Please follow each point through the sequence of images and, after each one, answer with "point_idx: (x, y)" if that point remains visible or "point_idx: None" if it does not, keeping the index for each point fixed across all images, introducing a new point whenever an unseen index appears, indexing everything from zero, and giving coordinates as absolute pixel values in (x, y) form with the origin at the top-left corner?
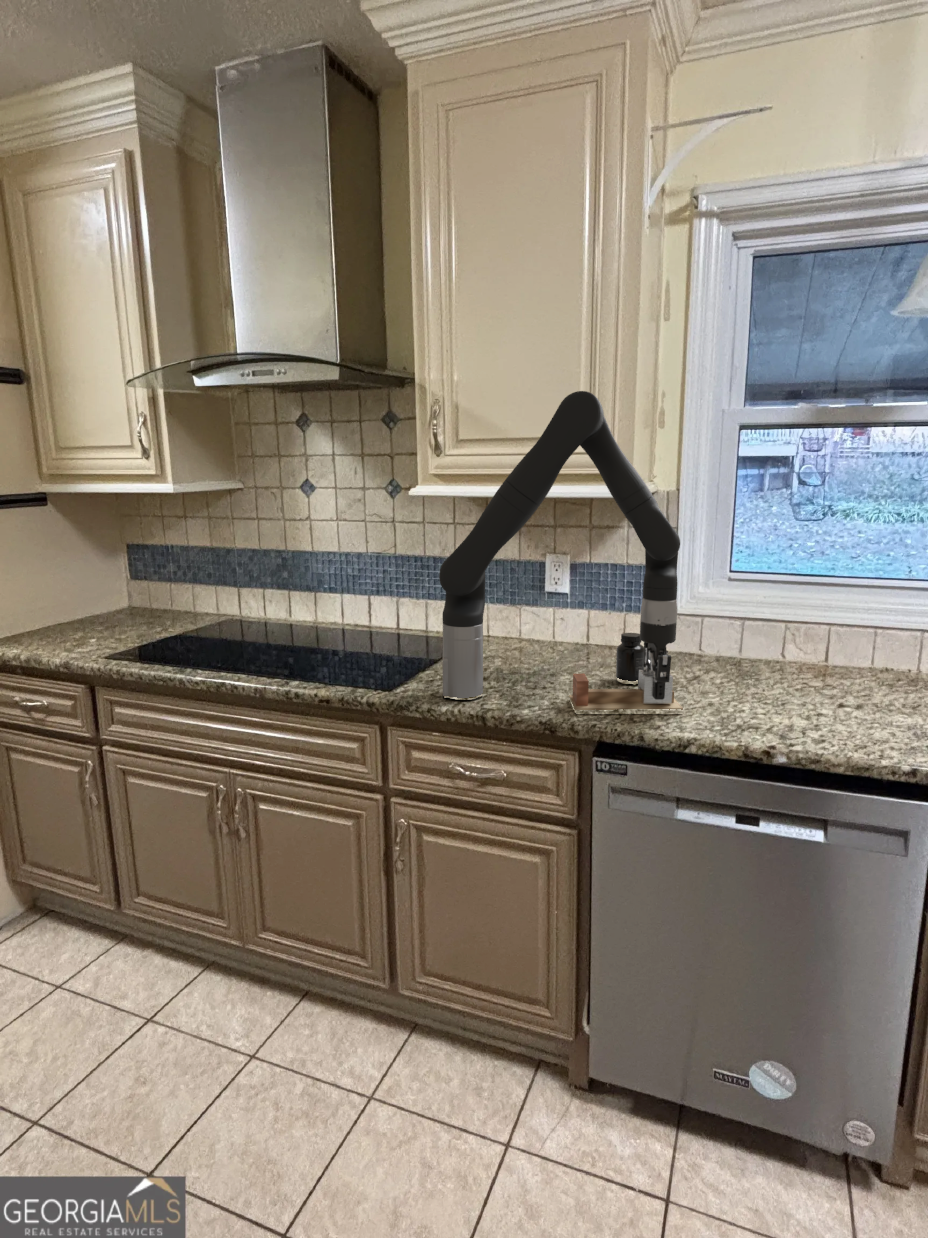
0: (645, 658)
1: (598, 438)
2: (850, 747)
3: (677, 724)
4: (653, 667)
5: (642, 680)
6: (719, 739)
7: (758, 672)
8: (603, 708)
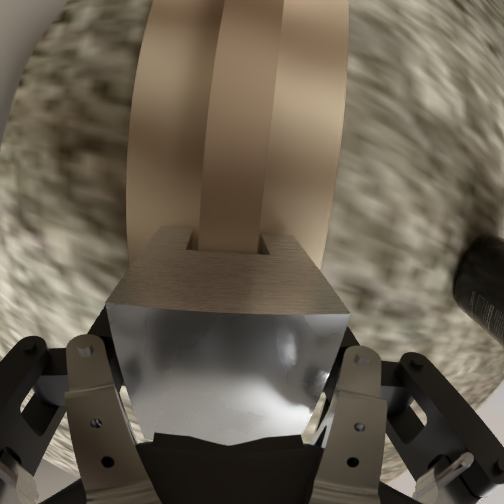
0: (372, 434)
1: None
2: (59, 453)
3: (58, 294)
4: (68, 416)
5: (196, 280)
6: (5, 339)
7: (392, 461)
8: (145, 29)
